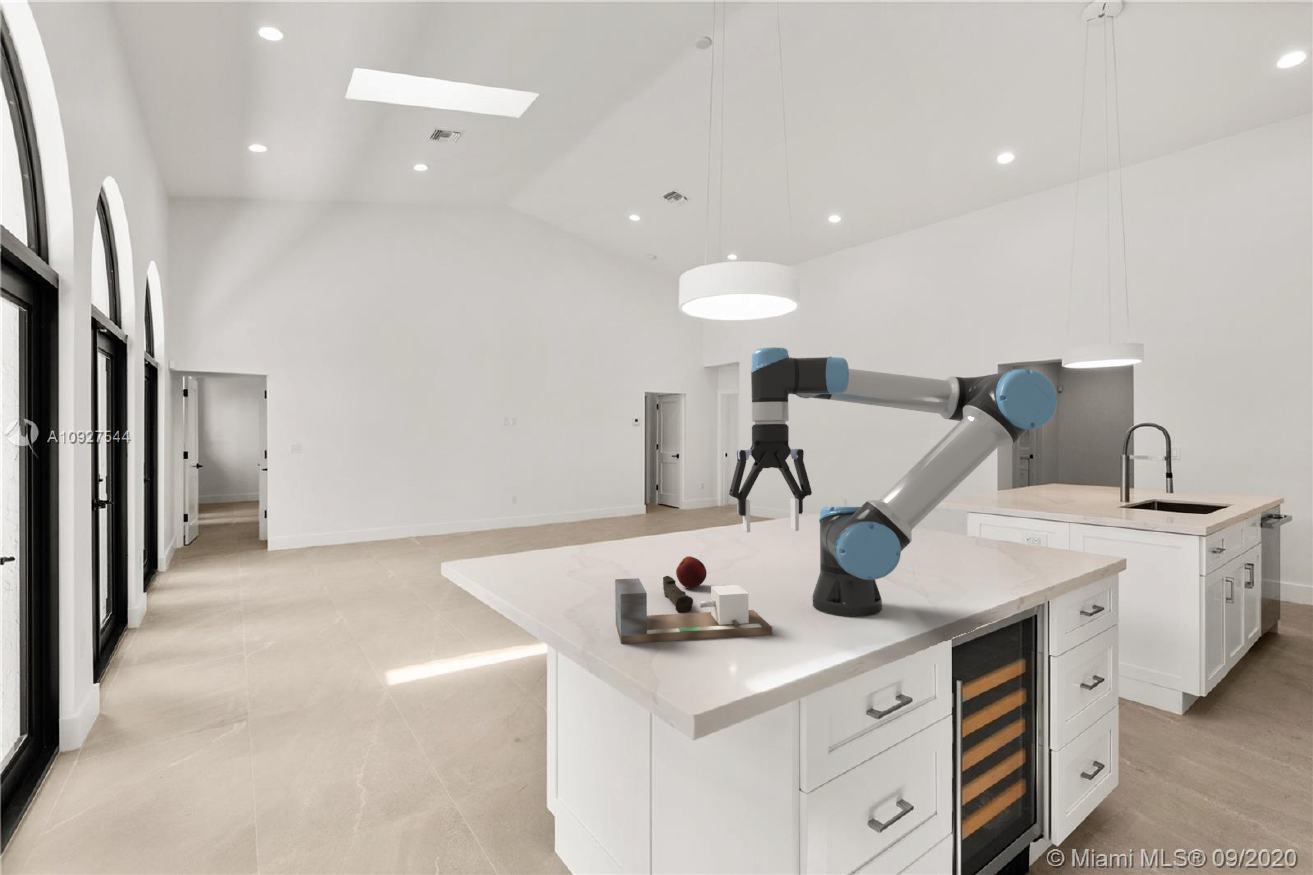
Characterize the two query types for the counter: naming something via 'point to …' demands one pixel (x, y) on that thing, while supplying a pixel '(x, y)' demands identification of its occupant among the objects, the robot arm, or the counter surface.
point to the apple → (691, 572)
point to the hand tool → (677, 595)
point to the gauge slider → (728, 605)
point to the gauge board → (671, 620)
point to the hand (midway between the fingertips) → (770, 530)
